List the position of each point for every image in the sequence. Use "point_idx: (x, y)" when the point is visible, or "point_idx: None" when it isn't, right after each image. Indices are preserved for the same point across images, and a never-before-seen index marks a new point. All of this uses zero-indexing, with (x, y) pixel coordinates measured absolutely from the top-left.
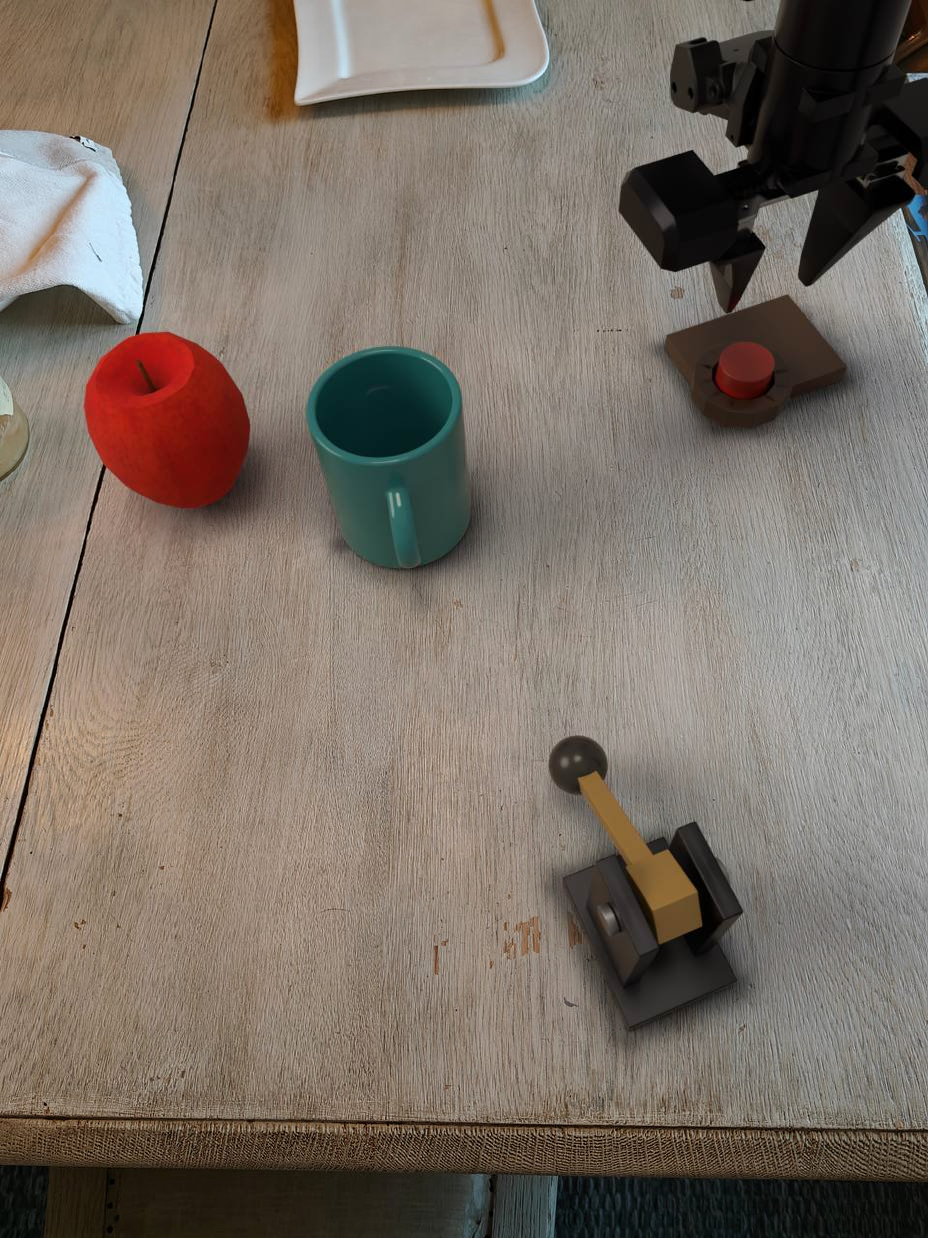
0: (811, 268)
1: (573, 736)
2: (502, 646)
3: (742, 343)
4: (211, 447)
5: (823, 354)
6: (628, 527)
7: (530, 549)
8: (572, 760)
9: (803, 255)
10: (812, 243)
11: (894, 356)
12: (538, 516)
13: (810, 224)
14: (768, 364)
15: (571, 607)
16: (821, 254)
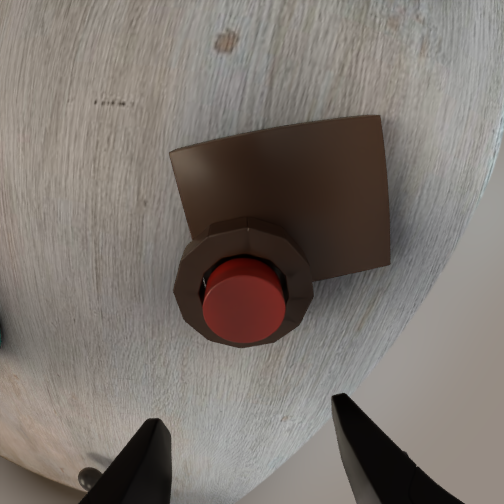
0: (341, 449)
1: (85, 481)
2: (46, 405)
3: (248, 280)
4: None
5: (375, 241)
6: (112, 367)
7: (44, 361)
8: (86, 490)
9: (344, 438)
10: (358, 474)
11: (444, 232)
12: (43, 339)
13: (372, 488)
14: (273, 321)
15: (79, 402)
16: (354, 487)
